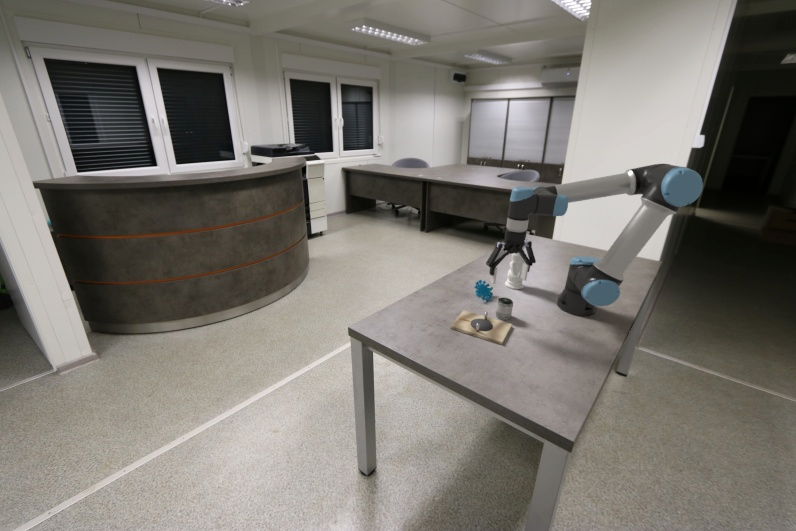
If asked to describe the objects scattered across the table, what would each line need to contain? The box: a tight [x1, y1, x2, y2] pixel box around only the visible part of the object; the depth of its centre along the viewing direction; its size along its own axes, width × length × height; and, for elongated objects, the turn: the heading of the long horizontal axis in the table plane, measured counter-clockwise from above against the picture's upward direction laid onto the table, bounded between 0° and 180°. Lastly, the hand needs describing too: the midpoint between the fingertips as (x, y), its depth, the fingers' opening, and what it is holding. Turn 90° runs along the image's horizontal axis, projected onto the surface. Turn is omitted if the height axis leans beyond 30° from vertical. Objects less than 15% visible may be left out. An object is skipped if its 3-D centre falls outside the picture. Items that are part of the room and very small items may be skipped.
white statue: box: [504, 245, 526, 291], centre depth 169 cm, size 12×12×22 cm
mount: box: [450, 310, 513, 345], centre depth 136 cm, size 20×14×1 cm
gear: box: [474, 279, 494, 302], centre depth 160 cm, size 11×6×10 cm
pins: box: [476, 311, 489, 332], centre depth 135 cm, size 1×11×3 cm, turn 150°
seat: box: [471, 319, 493, 331], centre depth 136 cm, size 8×8×1 cm
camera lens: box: [495, 297, 514, 321], centre depth 143 cm, size 6×6×8 cm
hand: (508, 280), depth 138 cm, fingers open, 13 cm apart
